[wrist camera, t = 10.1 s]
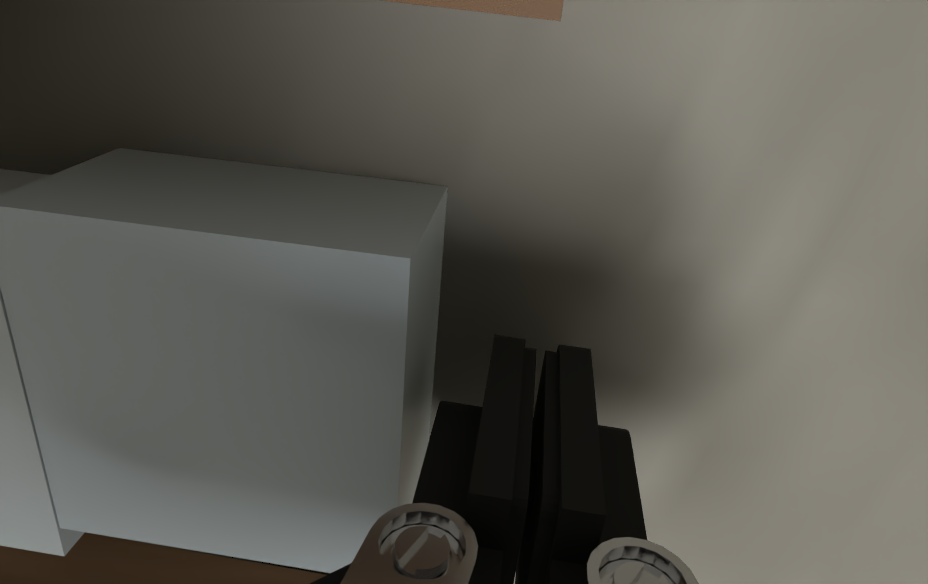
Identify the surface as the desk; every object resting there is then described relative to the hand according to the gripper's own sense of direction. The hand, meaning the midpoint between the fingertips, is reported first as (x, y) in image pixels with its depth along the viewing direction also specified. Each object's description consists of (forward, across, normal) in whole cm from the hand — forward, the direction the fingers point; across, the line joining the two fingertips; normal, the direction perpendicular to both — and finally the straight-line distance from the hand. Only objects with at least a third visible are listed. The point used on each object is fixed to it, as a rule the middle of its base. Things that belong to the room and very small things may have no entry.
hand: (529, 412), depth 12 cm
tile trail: (+2, +5, 0) cm, 5 cm away
